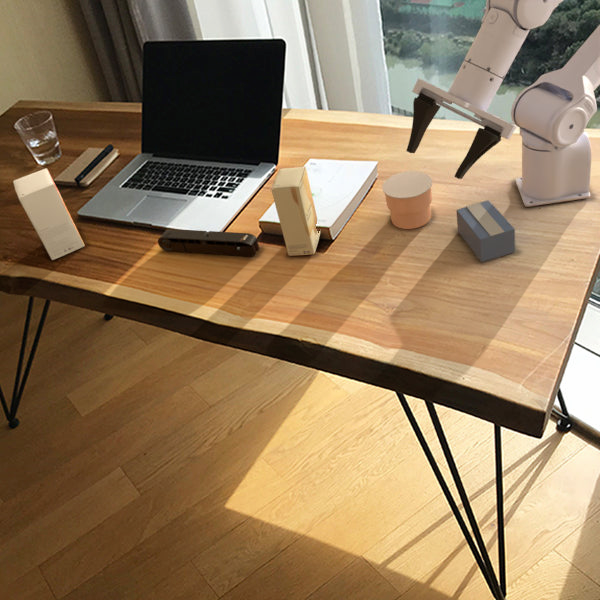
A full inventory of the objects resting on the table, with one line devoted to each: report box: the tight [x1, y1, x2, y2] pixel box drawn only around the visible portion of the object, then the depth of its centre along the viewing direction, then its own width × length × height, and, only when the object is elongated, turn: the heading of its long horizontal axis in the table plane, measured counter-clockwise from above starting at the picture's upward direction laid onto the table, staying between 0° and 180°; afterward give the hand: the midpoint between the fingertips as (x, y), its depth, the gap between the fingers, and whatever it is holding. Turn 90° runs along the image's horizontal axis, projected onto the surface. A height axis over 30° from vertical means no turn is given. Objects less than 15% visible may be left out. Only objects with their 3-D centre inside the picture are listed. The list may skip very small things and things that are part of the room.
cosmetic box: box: [270, 166, 321, 257], centre depth 104 cm, size 6×4×12 cm
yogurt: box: [381, 170, 433, 230], centre depth 105 cm, size 8×8×6 cm
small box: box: [12, 168, 86, 261], centre depth 119 cm, size 8×6×13 cm
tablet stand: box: [157, 228, 260, 257], centre depth 111 cm, size 18×3×3 cm, turn 68°
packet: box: [456, 199, 516, 263], centre depth 97 cm, size 8×5×4 cm, turn 12°
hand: (433, 164), depth 94 cm, fingers open, 7 cm apart
